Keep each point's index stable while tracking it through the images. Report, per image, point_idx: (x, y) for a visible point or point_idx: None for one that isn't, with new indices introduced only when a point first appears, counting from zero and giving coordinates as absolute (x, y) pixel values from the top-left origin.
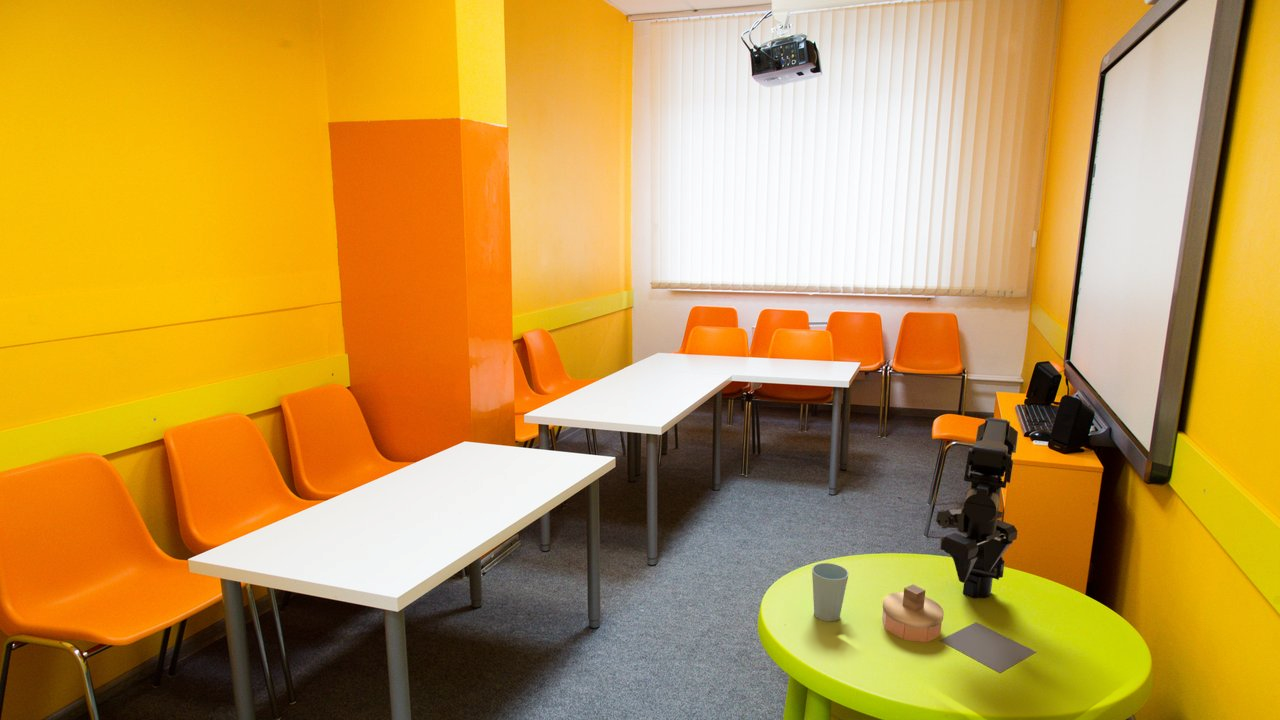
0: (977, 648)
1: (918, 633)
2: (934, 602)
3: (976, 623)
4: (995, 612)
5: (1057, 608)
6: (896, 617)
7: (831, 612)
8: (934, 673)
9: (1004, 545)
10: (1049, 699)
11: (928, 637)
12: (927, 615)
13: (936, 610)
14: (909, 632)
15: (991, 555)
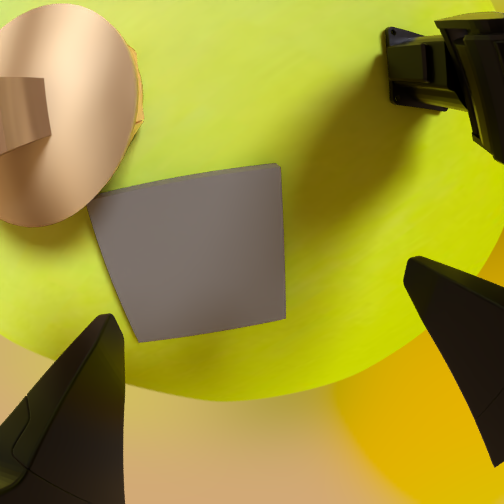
0: (160, 267)
1: None
2: (124, 108)
3: (273, 173)
4: (390, 142)
5: (476, 205)
6: None
7: None
8: (25, 276)
9: (495, 458)
10: (183, 383)
11: None
12: (32, 187)
13: (84, 166)
14: None
15: (475, 350)
